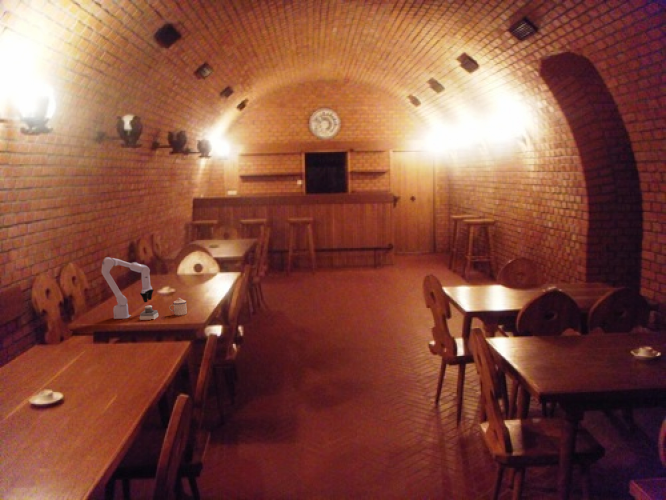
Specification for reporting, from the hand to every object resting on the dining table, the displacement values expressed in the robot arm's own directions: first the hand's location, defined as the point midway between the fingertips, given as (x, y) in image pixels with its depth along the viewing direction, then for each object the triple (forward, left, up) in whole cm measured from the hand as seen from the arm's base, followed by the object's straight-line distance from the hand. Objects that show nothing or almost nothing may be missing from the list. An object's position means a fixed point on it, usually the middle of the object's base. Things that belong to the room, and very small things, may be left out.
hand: (147, 301), depth 424 cm
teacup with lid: (+23, -3, -10) cm, 25 cm away
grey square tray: (+5, -12, -9) cm, 16 cm away
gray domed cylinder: (+5, -12, -7) cm, 15 cm away
